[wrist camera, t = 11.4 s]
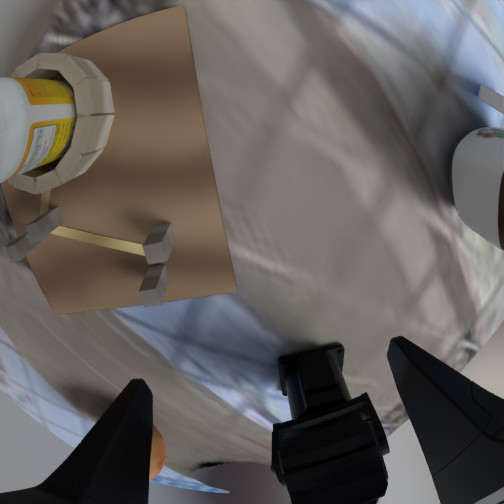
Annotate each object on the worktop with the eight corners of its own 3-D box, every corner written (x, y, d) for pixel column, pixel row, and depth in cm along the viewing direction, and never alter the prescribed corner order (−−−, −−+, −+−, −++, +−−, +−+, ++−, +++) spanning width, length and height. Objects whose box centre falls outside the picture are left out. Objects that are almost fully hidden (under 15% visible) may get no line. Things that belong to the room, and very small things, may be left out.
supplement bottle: (95, 150, 15) (-7, 194, 7) (35, 164, 15) (-62, 213, 6) (90, 71, 13) (-16, 57, 4) (29, 93, 12) (-73, 107, 4)
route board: (236, 284, 22) (238, 318, 18) (59, 307, 22) (41, 335, 18) (186, 9, 12) (175, -14, 9) (-7, 99, 12) (-39, 104, 9)
